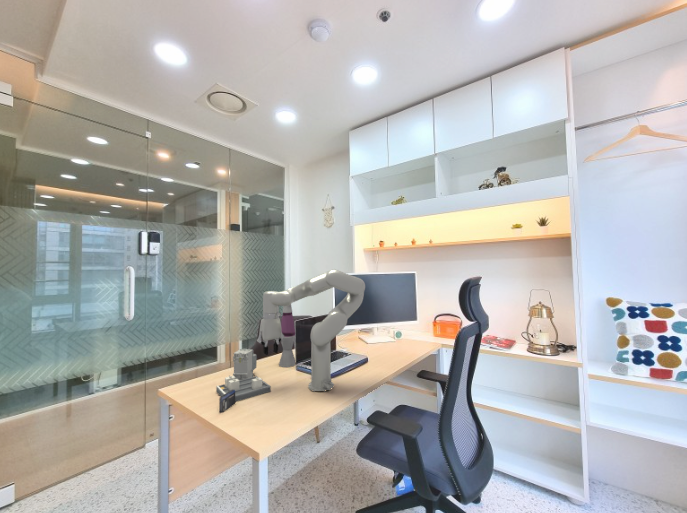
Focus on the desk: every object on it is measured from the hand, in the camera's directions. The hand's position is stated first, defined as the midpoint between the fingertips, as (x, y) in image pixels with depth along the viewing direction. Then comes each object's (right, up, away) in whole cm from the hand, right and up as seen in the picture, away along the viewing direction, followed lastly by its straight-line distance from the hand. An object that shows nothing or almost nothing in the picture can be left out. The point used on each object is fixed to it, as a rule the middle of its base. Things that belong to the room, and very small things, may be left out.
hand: (270, 352), depth 142 cm
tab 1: (-19, -15, -2) cm, 25 cm away
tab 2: (-16, -15, -7) cm, 23 cm away
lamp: (+1, -19, +36) cm, 40 cm away
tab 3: (-5, -15, -5) cm, 17 cm away
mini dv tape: (-13, -17, -20) cm, 29 cm away
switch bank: (-12, -17, -4) cm, 22 cm away
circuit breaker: (-17, -18, +14) cm, 29 cm away
